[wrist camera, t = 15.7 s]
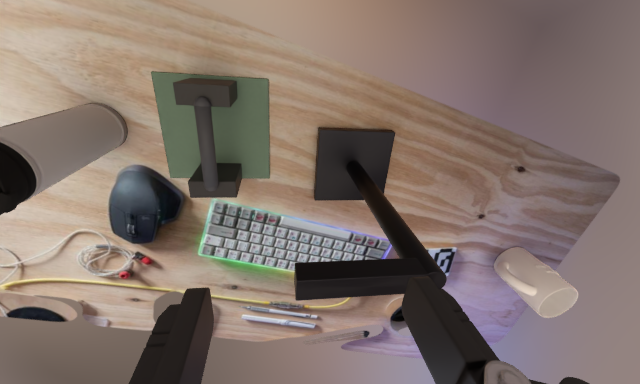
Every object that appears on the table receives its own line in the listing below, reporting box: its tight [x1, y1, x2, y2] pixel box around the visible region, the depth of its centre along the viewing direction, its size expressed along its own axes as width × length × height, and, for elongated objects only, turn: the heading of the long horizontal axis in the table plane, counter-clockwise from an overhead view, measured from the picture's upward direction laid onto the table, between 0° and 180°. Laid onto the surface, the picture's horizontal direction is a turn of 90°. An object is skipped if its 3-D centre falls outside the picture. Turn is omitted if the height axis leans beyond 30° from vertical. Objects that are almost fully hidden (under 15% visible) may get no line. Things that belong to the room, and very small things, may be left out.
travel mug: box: [0, 103, 127, 215], centre depth 29 cm, size 6×7×20 cm
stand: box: [294, 127, 446, 300], centre depth 34 cm, size 12×17×27 cm
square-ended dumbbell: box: [173, 78, 242, 198], centre depth 37 cm, size 14×6×8 cm, turn 176°
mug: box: [494, 247, 578, 318], centre depth 56 cm, size 8×12×12 cm
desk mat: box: [151, 72, 270, 178], centre depth 40 cm, size 15×15×1 cm
